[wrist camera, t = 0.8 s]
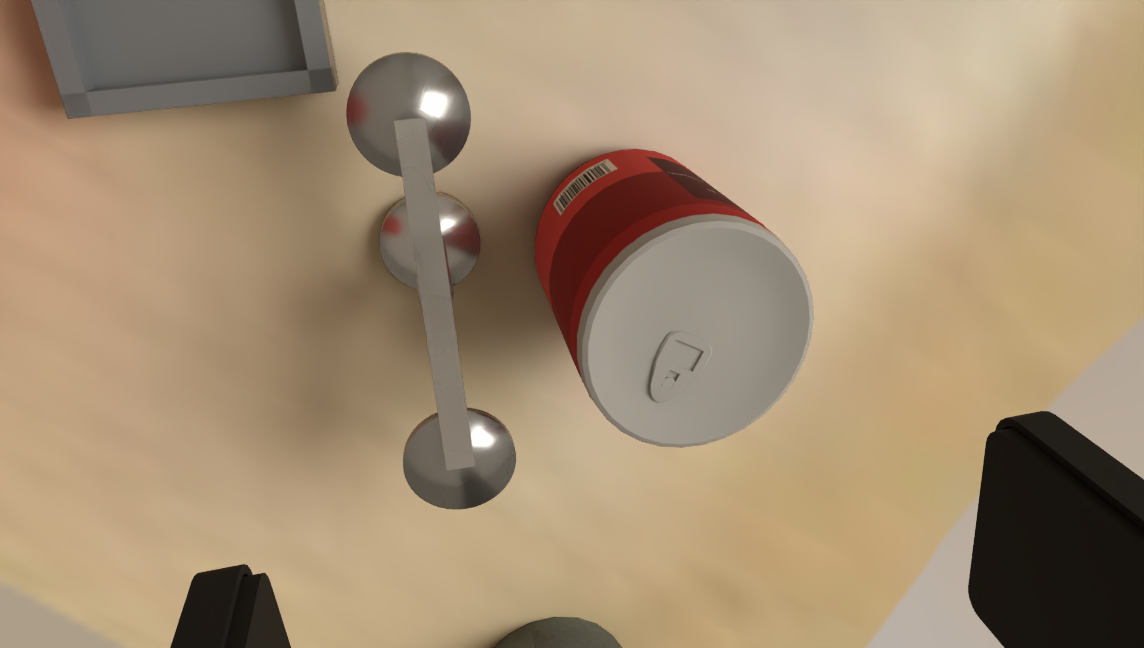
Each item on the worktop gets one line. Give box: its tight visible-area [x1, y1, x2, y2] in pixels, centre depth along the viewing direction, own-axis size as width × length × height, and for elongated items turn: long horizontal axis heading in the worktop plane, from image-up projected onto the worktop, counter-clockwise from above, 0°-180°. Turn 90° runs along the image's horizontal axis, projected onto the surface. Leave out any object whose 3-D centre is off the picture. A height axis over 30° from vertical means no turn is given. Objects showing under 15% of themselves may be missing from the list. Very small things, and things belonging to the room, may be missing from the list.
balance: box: [346, 52, 516, 509], centre depth 32 cm, size 16×4×8 cm, turn 4°
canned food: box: [535, 149, 814, 448], centre depth 32 cm, size 8×8×11 cm
